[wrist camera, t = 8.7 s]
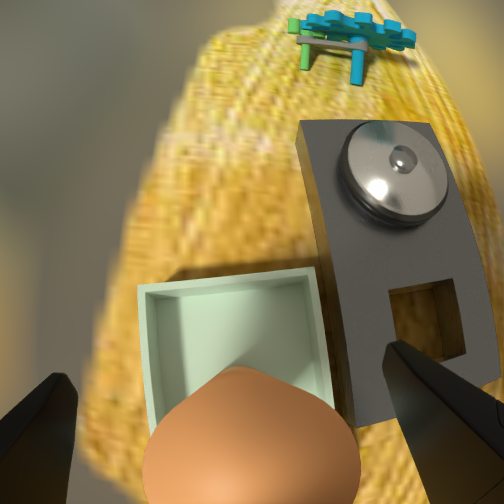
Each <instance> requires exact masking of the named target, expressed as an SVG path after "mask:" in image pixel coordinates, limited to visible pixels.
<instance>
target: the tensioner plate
mask: <svg viewBox="0 0 504 504" xmlns="http://www.w3.org/2000/svg"><path fill="white" fill-rule="evenodd" d="M295 144H296V149H297V153H298V157H299V161H300V166H301V170H302V175H303V179H304V184H305V188H306V193H307V198H308V202H309V207H310V212H311V217H312V222H313V227H314V232H315V237H316V242H317V248H318V253H319V258H320V264H321V269H322V275H323V281H324V287H325V293H326V299H327V305H328V311H329V318H330V324H331V331H332V338H333V344H334V352H335V359H336V366H337V374H338V382H339V391H340V399H341V408H342V417H343V419H344V421H345V422H346V423H348V424H350V425H351V426H353V427H355V428H360V427H364V426H368V425H372V424H376V423H379V422H383V421H386V420H390V419H393V418H397V417H396V414H395V411H394V408H393V404H392V401H391V398H390V394H389V391H388V387H387V384H386V381H385V378H384V374H383V371H382V361H383V357H384V353H385V349H386V346H387V344H388V343H389V342H393V341H397V340H396V333H395V327H394V321H393V315H392V310H391V304H390V299H389V296H392V295H397V294H403V293H408V292H413V291H419V290H424V289H429V288H432V289H433V294H434V299H435V304H436V309H437V314H438V320H439V326H440V332H441V338H442V345H443V352H444V356H443V357H440V358H437V359H433V360H435V361H436V362H438V363H440V364H441V365H443V366H444V367H446V368H448V369H449V370H451V371H452V372H454V373H456V374H457V375H459V376H460V377H462V378H464V379H465V380H467V381H468V382H470V383H472V384H473V385H475V386H476V387H481V386H483V385H485V384H487V383H489V382H492V381H494V380H496V379H498V378H500V377H501V370H500V360H499V351H498V343H497V336H496V329H495V323H494V317H493V311H492V306H491V301H490V296H489V291H488V287H487V282H486V278H485V274H484V270H483V266H482V262H481V258H480V254H479V251H478V247H477V243H476V240H475V237H474V233H473V230H472V227H471V224H470V221H469V218H468V215H467V212H466V209H465V206H464V203H463V200H462V197H461V195H460V192H459V189H458V187H457V184H456V182H455V179H454V177H453V174H452V172H451V169H450V167H449V164H448V162H447V160H446V157H445V155H444V153H443V150H442V148H441V146H440V144H439V142H438V140H437V137H436V135H435V133H434V131H433V129H432V127H431V125H430V123H421V122H407V121H388V120H347V119H335V120H300V122H299V127H298V132H297V137H296V143H295Z"/></svg>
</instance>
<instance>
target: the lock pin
mask: <svg viewBox="0 0 504 504" xmlns="http://www.w3.org/2000/svg"><path fill="white" fill-rule="evenodd" d="M360 476H361V460H360V453H359V449H358V446H357V443H356V440H355V438H354V436H353V433H352V431H351V429H350V428H349V426H348V425H347V424H346V422H345V421H344V419H343V418H342V417H341V416H340V415H339V414H338V413H337V412H336V410H335V409H333V408H332V407H331V406H330V405H328V404H327V403H326V402H325V401H323V400H322V399H320V398H318V397H317V396H315V395H313V394H311V393H309V392H307V391H305V390H303V389H300V388H298V387H295V386H293V385H291V384H288V383H286V382H283V381H281V380H279V379H276V378H274V377H271V376H269V375H267V374H265V373H262V372H260V371H258V370H255V369H253V368H251V367H248V366H241V365H238V366H231V367H228V368H226V369H224V370H222V371H221V372H220V373H218V374H217V375H216V376H215V377H213V378H212V379H211V380H209V381H208V382H207V383H206V384H204V385H203V386H202V387H200V388H199V389H198V390H197V391H195V392H194V393H193V394H191V395H190V396H189V397H187V398H186V399H185V400H184V401H182V402H181V403H180V404H178V405H177V406H176V407H174V408H173V409H172V410H171V411H170V412H169V413H168V414H167V415H166V416H165V417H164V418H163V419H162V420H161V422H160V423H159V424H158V425H157V427H156V428H155V430H154V432H153V433H152V435H151V437H150V439H149V441H148V444H147V447H146V450H145V453H144V458H143V466H142V477H143V485H144V490H145V493H146V496H147V499H148V502H149V504H352V503H353V501H354V499H355V497H356V494H357V491H358V487H359V482H360Z"/></svg>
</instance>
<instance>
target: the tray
mask: <svg viewBox="0 0 504 504" xmlns="http://www.w3.org/2000/svg"><path fill="white" fill-rule="evenodd" d="M138 313H139V331H140V346H141V359H142V370H143V380H144V390H145V399H146V407H147V415H148V422H149V429H150V436H151V435H152V433H153V432H154V430H155V428H156V427H157V425H158V424H159V423H160V422H161V420H162V419H163V418H164V417H165V416H166V415H167V414H168V413H169V412H170V411H171V410H172V409H173V408H174V407H176V406H177V405H178V404H180V403H181V402H182V401H184V400H185V399H186V398H187V397H189V396H190V395H191V394H193V393H194V392H195V391H197V390H198V389H199V388H200V387H202V386H203V385H204V384H206V383H207V382H208V381H209V380H211V379H212V378H213V377H215V376H216V375H217V374H218V373H220V372H221V371H222V370H224V369H226V368H228V367H231V366H238V365H241V366H248V367H251V368H253V369H255V370H258V371H260V372H262V373H265V374H267V375H269V376H271V377H274V378H276V379H279V380H281V381H283V382H286V383H288V384H291V385H293V386H295V387H298V388H300V389H303V390H305V391H307V392H309V393H311V394H313V395H315V396H317V397H318V398H320V399H322V400H323V401H325V402H326V403H327V404H328V405H330V406H331V407H332V408H333V409H335V408H334V399H333V390H332V382H331V374H330V367H329V359H328V352H327V344H326V337H325V330H324V324H323V317H322V311H321V304H320V298H319V292H318V286H317V280H316V274H315V268H314V266H312V267H304V268H295V269H287V270H278V271H269V272H260V273H251V274H242V275H233V276H224V277H214V278H204V279H195V280H185V281H175V282H164V283H154V284H143V285H138Z"/></svg>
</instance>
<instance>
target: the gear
mask: <svg viewBox="0 0 504 504" xmlns="http://www.w3.org/2000/svg"><path fill="white" fill-rule="evenodd" d="M300 23H301V29H300ZM288 33H289V34H299V36H297V43H296V44H298V45H302V47H301V61H300V69H302V70H309V56H310V47H320V48H329V49H337V50H344V51H351V52H352V65H351V77H350V84H355V85H362V77H363V64H364V53H368V46H370V47H372V48H373V49H376V50H386V47H388V48H391V49H393V50H397V51H404V48H405V47H406V48H411V49H415V42H416V33H415V32H413V31H411V30H409V29H401V23H399V22H396V21H393V20H389V19H386V20H384V25H381V24H376V23H374V22H373V21H372V14H370V13H361V12H355V19H354V18H351V17H348V16H345V15H344V14H342V13H341V12H339V11H336V10H331V11H326V12H325V13H324V16H320V15H317V14H308V15H307V20H300V19H296V18H290V19H288ZM325 36H327V40H318V39H325ZM316 38H317V39H316ZM340 40H345V41H348V42H349V43H343V42H340Z"/></svg>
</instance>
